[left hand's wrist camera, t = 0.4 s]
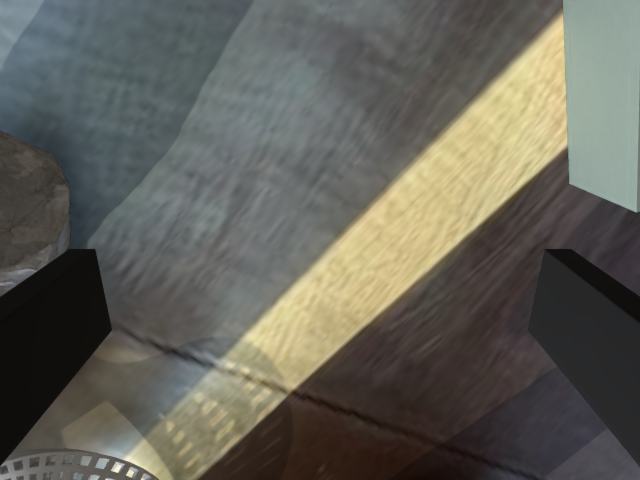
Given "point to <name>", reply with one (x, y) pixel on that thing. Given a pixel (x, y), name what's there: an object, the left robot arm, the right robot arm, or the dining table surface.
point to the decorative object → (66, 466)
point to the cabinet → (604, 97)
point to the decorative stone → (30, 210)
